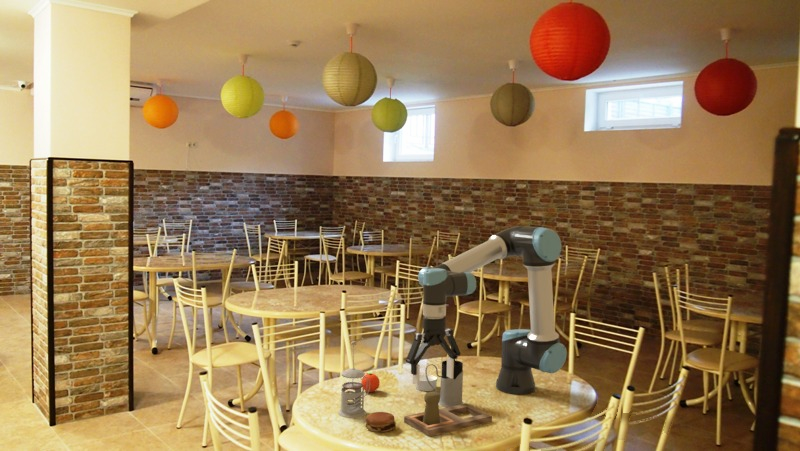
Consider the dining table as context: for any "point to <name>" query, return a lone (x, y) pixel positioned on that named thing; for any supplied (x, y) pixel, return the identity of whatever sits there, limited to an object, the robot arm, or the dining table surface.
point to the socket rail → (449, 420)
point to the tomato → (373, 382)
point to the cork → (431, 408)
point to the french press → (352, 393)
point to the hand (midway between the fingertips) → (433, 380)
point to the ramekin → (426, 383)
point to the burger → (380, 422)
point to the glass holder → (450, 385)
